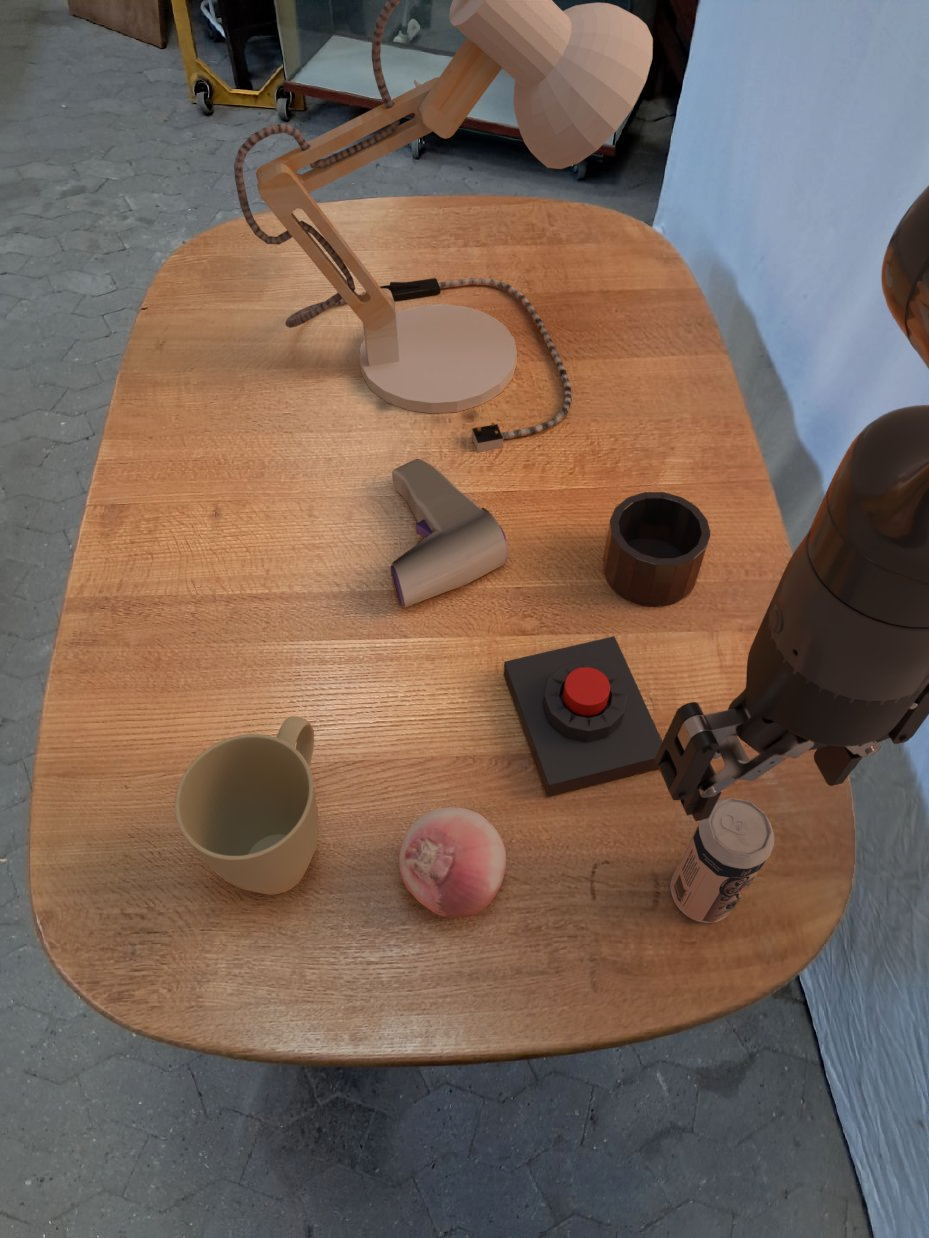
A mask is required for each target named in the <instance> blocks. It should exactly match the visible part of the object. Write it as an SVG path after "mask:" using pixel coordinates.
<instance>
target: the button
mask: <svg viewBox="0 0 929 1238" xmlns="http://www.w3.org/2000/svg"><path fill="white" fill-rule="evenodd" d="M609 693H610V683H609V681H608V679H607V677H606V676H605V675H604V674H603V673H602V672H600V671H599V670H597V669H594V668H590V667H582V668H578V669H575V670H574V671H572V672H571V673H570V674H569V675H568V676H567V678H566V680H565V685H564V692H563V699H564V702H565V704H566V706H567V707H568V708H569V709H570V710H571V711H572V712H574V713H575V714H578V715H581V716H593V715H596V714H598V713H600V712H601V711H602V710H603V709H604V708H605V707H606V705H607V701H608V697H609Z"/></svg>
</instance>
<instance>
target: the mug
mask: <svg viewBox="0 0 929 1238" xmlns="http://www.w3.org/2000/svg"><path fill="white" fill-rule="evenodd" d="M314 747H315V731H314V728H313V725H312V724H311V722H310V721H309V720H307V719H306V718H303V717H299V716H296V715H295V716H294V715H291V716H288V717H287V718H285V720H284V721H283V722H282V724H281V725H280V727H279V730H278V732H277V734H276V736H273V735H268V734H263V733H261V734H260V733H246V734H240V735H235V736H232V737H228V738H226V739H223V740H221V741H218V742H216V743H215V744H213V745H211V746H209V747H208V748H206V749H205V750H204V751H202V752H201V753H200V754H199V755H198V756H197V757H196V758H195V759H194V760H193V761H192V762H191V763H190V764H189V766H188V767H187V768H186V770H185V772H184V773H183V774H182V776H181V779H180V781H179V783H178V785H177V788H176V792H175V797H174V816H175V820H176V823H177V826H178V829H179V830H180V833H181V835H182V836H183V838H184V839H185V840H186V841H187V843H188V844H189V845H190V846H191V847H192V848H193V849H194V851H195V852H196V853H197V854H198V855H199V856H200V858H201V859H202V860H203V861H204V863H205V864H206V865H207V866H208V867H209V868H210V869H211V870H212V871H213V872H214V873H215V874H216V875H217V876H219V878H221V879H223V880H224V881H225V882H227V883H229V884H230V885H232V886H234V887H237V888H239V889H242V890H245V891H250V892H253V893H259V894H263V895H268V896H273V895H280V894H284V893H287V892H289V891H290V890H291V889H293V888H294V887H296V886H297V885H298V884H299V883H300V882H301V881H302V879H303V878H304V876H305V874H306V872H307V869H308V867H309V865H310V864H311V861H312V859H313V857H314V855H315V852H316V848H317V845H318V841H319V833H320V832H319V831H320V818H319V810H318V803H317V797H316V791H315V783H314V778H313V774H312V771H311V764H312V760H313V754H314Z"/></svg>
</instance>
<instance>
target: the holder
mask: <svg viewBox="0 0 929 1238" xmlns="http://www.w3.org/2000/svg"><path fill="white" fill-rule="evenodd" d="M710 538H711V529H710V525H709V521H708V519H707V518H706V516H705V515H704V514H703V512H702V511H701V510H700V508H699V507H698V506H697V505H695V504H693V503H692V502H690V501H689V500H687V499H686V498H684V497H683V496H679V495H676V494H672V493H668V492H665V491H643V492H641V493H637V494H633V495H631V496H628V497H626V498H625V499H624V500H622V501H621V502H620V503H619V504H617V506H615V507H614V509H613V512H612V514H611V517H610V519H609V523H608V529H607V534H606V539H605V545H604V551H603V556H602V572H603V576H604V578H605V581H606V583H607V584H608V586H609V587H610V588H611V589H612V591H613V592H615V593H616V594H617V595H618V596H620V598H623V599H624V600H625V601H628V602H630V603H633V604H636V605H638V606H644V607H650V608H651V607H653V608H658V607H659V608H660V607H665V606H667V607H668V606H670V605H673V604H676V603H679V602H680V601H682V600H683V599H685V598H686V597H688V595H689V594H690V593H691V592H692V591H693V589H694V588H695V586H696V583H697V579H698V576H699V574H700V573H699V572H700V570H701V567H702V565H703V564H702V563H703V561H704V557H705V555H706V551H707V548H708V545H709V542H710Z"/></svg>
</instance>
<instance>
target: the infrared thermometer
mask: <svg viewBox="0 0 929 1238" xmlns="http://www.w3.org/2000/svg"><path fill="white" fill-rule="evenodd" d="M391 475H392V484H393V489H394V491H395V492H397V493H398V494H400V495H401V496H402V497H403V498H404V500H405V501H406V503H407V504H408V506H409V508H410V510H411V512H412V514H413V516H414V518H415V520H416V521H417V523H416V524H415V533H416V535H418V536H421V537H422V538H423V539H421V540H420V541H419V542H418V543H416V544H415V545H414V546H413V547H411V548H410V549H408V550H407V551H406V552H405V553H403V554H402V555H400V556H399V557H397V558H396V559H395V560H394V561H393V562H392V564H391V565H390V573H391V579H392V582H393V586H394V590H395V594H396V597H397V600H398V603H399V605H400V607H402V608H408V607H410V606H412V605H415V604H418V603H420V602H423V601H426V600H428V599H431V598H434V597H436V596H439V595H442V594H445V593H447V592H450V591H452V590H456V589H457V588H460V587H463V586H467V585H469V584H470V583H472V582H474V581H476V580H478V579H479V578H482V577H483V576H485V575H487V574H489V573H491V572H493V571H495V570H497V569H499V568H500V567H502V566H504V565H505V564H506V563H507V562H508V558H509V549H508V548H509V546H508V540H507V537H506V534H505V532H504V529H503V528H502V526H501V524H500V523H499V522H498V521H497V519H496V518H495V517H494V515H493V514H492V513H491V512H490V511H489V510H488V509H486V508H485V507H480V506H478V504H476V503H475V502H474V501H473V499H471V498H470V497H469V496H467V495H466V494H465V493H463V492H462V491H461V490H459V489H458V488H457V487H456V486H455V484H453V483H452V481H450V480H449V478H448V477H446V476H445V475H444V473H442V472H441V471H440V470H439V469H438V468H436V467H435V466H433V465H432V464H430V463H429V462H426V461H425V460H423V459H420V458H416V459H413V460H411V461H409V462H406V463H404V464H402V465H400V466H398V467H396V468H393V470H391Z"/></svg>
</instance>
